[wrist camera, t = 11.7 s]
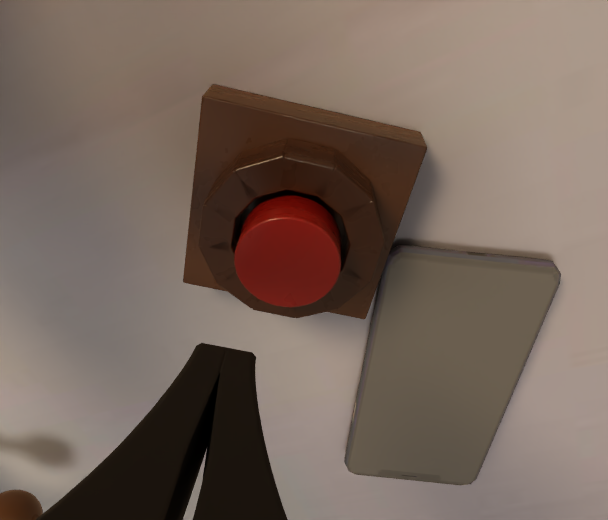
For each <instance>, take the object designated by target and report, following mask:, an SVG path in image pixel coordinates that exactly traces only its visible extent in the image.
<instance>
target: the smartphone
mask: <svg viewBox="0 0 608 520" xmlns="http://www.w3.org/2000/svg"><path fill="white" fill-rule="evenodd" d="M560 277H561V273H560V271H559V270H558V268H557V267H556V265H555V264H554V263H553V261H551V260H543V259H533V258H524V257H514V256H504V255H494V254H485V253H475V252H465V251H455V250H446V249H436V248H426V247H417V246H407V245H399V246H397V247H395V248H394V249H392V250H391V251H390V252H389V255H388V258H387V261H386V263H385V266H384V269H383V272H382V274H381V278H380V283H379V288H378V293H377V298H376V303H375V308H374V313H373V318H372V323H371V328H370V333H369V338H368V343H367V348H366V353H365V358H364V363H363V368H362V373H361V378H360V383H359V388H358V393H357V398H356V402H355V407H354V412H353V418H352V424H351V429H350V434H349V439H348V444H347V449H346V454H345V464H346V466H347V468H348V470H349V471H350V472H352V473H354V474H357V475H367V476H376V477H386V478H396V479H405V480H415V481H424V482H434V483H444V484H453V485H467V484H471V483H472V482H473V481H474V480H476V479H477V476H478V474H479V472H480V469H481V467H482V465H483V462H484V460H485V457H486V455H487V453H488V450H489V448H490V446H491V443H492V441H493V439H494V436H495V434H496V432H497V429H498V427H499V425H500V422H501V420H502V418H503V415H504V413H505V411H506V408H507V406H508V404H509V401H510V399H511V396H512V394H513V392H514V389H515V387H516V385H517V382H518V380H519V378H520V375H521V373H522V371H523V368H524V366H525V364H526V361H527V359H528V357H529V354H530V352H531V350H532V347H533V345H534V343H535V340H536V338H537V335H538V333H539V331H540V328H541V326H542V324H543V321H544V319H545V317H546V314H547V312H548V310H549V307H550V305H551V303H552V300H553V298H554V296H555V293H556V291H557V289H558V286H559V284H560Z"/></svg>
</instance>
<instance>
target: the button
mask: <svg viewBox="0 0 608 520" xmlns="http://www.w3.org/2000/svg"><path fill="white" fill-rule="evenodd" d="M234 265H235V269H236V272H237V275H238V277H239V279H240V281H241V283H242V284H243V285H244V287H245V288H246V289H247V290H248V291H249V292H250V293H251V294H253V295H254V296H255V297H257V298H258V299H260V300H262V301H264V302H266V303H269V304H272V305H276V306H281V307H299V306H304V305H308V304H311V303H313V302H316V301H317V300H319V299H321V298H322V297H324V296H325V295H326V294H327V293H328V292H329V291H330V290H331V289H332V288H333V287H334V285H335V283H336V282H337V280H338V277H339V274H340V270H341V238H340V232H339V228H338V225H337V223H336V221H335V219H334V218H333V216H332V215H331V214H330V213H329V212H328V211H327V210H326V209H325V208H324V207H323V206H321V205H320V204H318V203H317V202H315V201H313V200H310V199H308V198H305V197H301V196H295V195H284V196H277V197H273V198H270V199H268V200H266V201H264V202H262V203H260V204H259V205H257V206H256V207H255V208H254V209H253V210H252V211H251V212H250V213H249V215H248V216H247V218H246V220H245V222H244V224H243V227H242V230H241V234H240V237H239V240H238V243H237V246H236V250H235V254H234Z"/></svg>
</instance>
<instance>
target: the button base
mask: <svg viewBox="0 0 608 520" xmlns="http://www.w3.org/2000/svg"><path fill="white" fill-rule="evenodd" d="M426 150H427V146H426V144H425V141H424V139H423V137H422V135H421V133H420V132H418V131H413V130H409V129H405V128H400V127H396V126H392V125H387V124H383V123H379V122H375V121H370V120H366V119H362V118H357V117H353V116H349V115H344V114H340V113H336V112H331V111H327V110H323V109H318V108H314V107H310V106H305V105H301V104H297V103H292V102H288V101H284V100H280V99H275V98H271V97H267V96H262V95H258V94H254V93H249V92H245V91H241V90H236V89H232V88H228V87H223V86H219V85H215V84H212V85H211V87H210V88H209V89H208V90H207V91H206V92H205V94H204V95H203V96H202V103H201V113H200V123H199V132H198V142H197V152H196V161H195V171H194V181H193V190H192V200H191V210H190V219H189V229H188V239H187V249H186V258H185V268H184V278H183V282H184V283H188V284H193V285H198V286H203V287H208V288H213V289H218V290H223V291H228V292H229V293H231V294H232V295H233V296H235V297H236V298H238V299H239V300H240V301H242V302H243V303H244V304H246V305H247V306H249V307H250V308H253V310H257V311H262V312H267V313H272V314H277V315H282V316H287V317H292V318H295V317H296V318H300V317H304V316H309V315H313V314H318V313H323V312H331V313H336V314H341V315H346V316H351V317H356V318H361V319H365V318H366V316H367V313H368V310H369V308H370V305H371V302H372V299H373V296H374V294H375V291H376V288H377V285H378V283H379V280H380V277H381V274H382V272H383V269H384V266H385V263H386V261H387V258H388V255H389V252H390V250H391V247H392V244H393V241H394V238H395V236H396V233H397V230H398V227H399V225H400V222H401V219H402V216H403V214H404V211H405V208H406V205H407V203H408V200H409V197H410V194H411V191H412V189H413V186H414V183H415V180H416V178H417V175H418V172H419V169H420V167H421V164H422V161H423V158H424V156H425V153H426ZM284 195H295V196H301V197H305V198H308V199H310V200H313V201H315V202H317V203H318V204H320V205H321V206H323V207H324V208H325V209H326V210H327V211H328V212H329V213H330V214H331V215H332V216H333V218H334V219H335V221H336V223H337V225H338V228H339V232H340V238H341V270H340V274H339V277H338V280H337V282H336V283H335V285H334V287H333V288H332V289H331V290H330V291H329V292H328V293H327V294H326V295H325V296H324V297H322V298H321V299H319V300H317V301H316V302H313V303H311V304H308V305H304V306H299V307H281V306H276V305H272V304H269V303H266V302H264V301H262V300H260V299H258V298H257V297H255V296H254V295H253V294H251V293H250V292H249V291H248V290H247V289H246V288H245V287H244V285H243V284H242V283H241V281H240V279H239V277H238V275H237V272H236V269H235V265H234V254H235V250H236V246H237V243H238V240H239V237H240V234H241V230H242V227H243V224H244V222H245V220H246V218H247V216H248V215H249V213H250V212H251V211H252V210H253V209H254V208H255V207H256V206H257V205H259V204H260V203H262V202H264V201H266V200H268V199H270V198H273V197H277V196H284Z"/></svg>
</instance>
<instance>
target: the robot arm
mask: <svg viewBox="0 0 608 520" xmlns="http://www.w3.org/2000/svg"><path fill="white" fill-rule="evenodd" d="M255 361H256V357H255V355H254V354H253V353H252V352H246V351H241V350H236V349H231V348H225V347H220V346H215V345H210V344H204V343H201V344H199V345H197V346H196V348H195V349H194V351H193V353H192V355H191V357H190V358H189V360H188V361H187V363H186V365H185V366H184V368H183V369H182V371H181V372H180V373H179V375H178V376H177V378H176V379H175V380H174V382H173V383H172V384H171V386H170V387H169V388H168V390H167V391H166V392H165V393H164V395H163V396H162V397H161V398H160V400H159V401H158V402H157V403H156V405H155V406H154V407H153V408H152V409H151V411H150V412H149V413H148V414H147V415H146V416H145V417H144V419H143V420H142V421H141V422H140V423H139V424H138V425H137V426H136V427H135V429H134V430H133V431H132V432H131V433H130V434H129V435H128V436H127V437H126V439H125V440H124V441H123V442H122V443H121V444H120V445H119V446H118V447H117V448H116V449H115V450H114V451H113V452H112V453H111V454H110V455H109V456H108V457H107V458H106V459H105V460H104V461H103V462H102V463H101V464H100V465H98V466H97V467H96V468H95V469H94V470H93V471H92V472H91V473H90V474H89V475H88V476H87V477H86V478H84V479H83V480H82V481H81V482H80V483H79V484H78V485H77V486H75V487H74V488H73V489H72V490H71V491H70V492H69V493H67V494H66V495H65V496H64V497H63V498H62V499H60V500H59V501H58V502H57V503H56V504H55V505H53V506H52V507H51V508H50V509H48V510H47V511H46V512H45V513H43V514H42V515H41V516H40V517H38V518H37V519H36V520H183V517H184V514H185V511H186V508H187V505H188V502H189V499H190V496H191V494H192V491H193V488H194V485H195V482H196V479H197V476H198V473H199V470H200V467H201V464H202V461H203V458H204V455H205V452H206V449H207V453H206V460H205V467H204V474H203V481H202V486H201V490H200V494H199V498H198V502H197V506H196V510H195V514H194V518H193V520H287V517H286V514H285V511H284V509H283V506H282V503H281V499H280V496H279V493H278V490H277V487H276V484H275V480H274V477H273V473H272V470H271V466H270V462H269V458H268V454H267V450H266V446H265V441H264V437H263V432H262V426H261V420H260V415H259V409H258V402H257V393H256V382H255Z"/></svg>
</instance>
